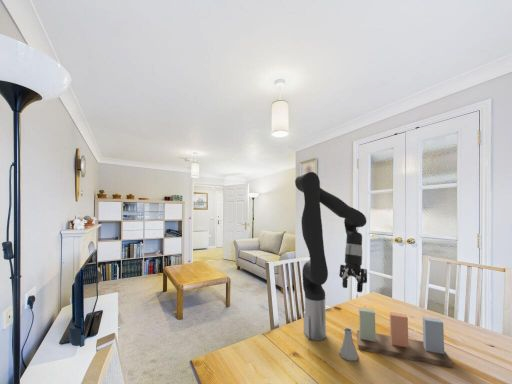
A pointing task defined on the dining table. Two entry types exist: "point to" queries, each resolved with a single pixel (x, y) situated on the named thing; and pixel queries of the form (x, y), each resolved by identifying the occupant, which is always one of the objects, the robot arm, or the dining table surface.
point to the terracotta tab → (399, 329)
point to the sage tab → (367, 324)
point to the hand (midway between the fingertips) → (351, 289)
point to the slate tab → (433, 335)
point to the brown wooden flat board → (403, 350)
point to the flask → (348, 347)
